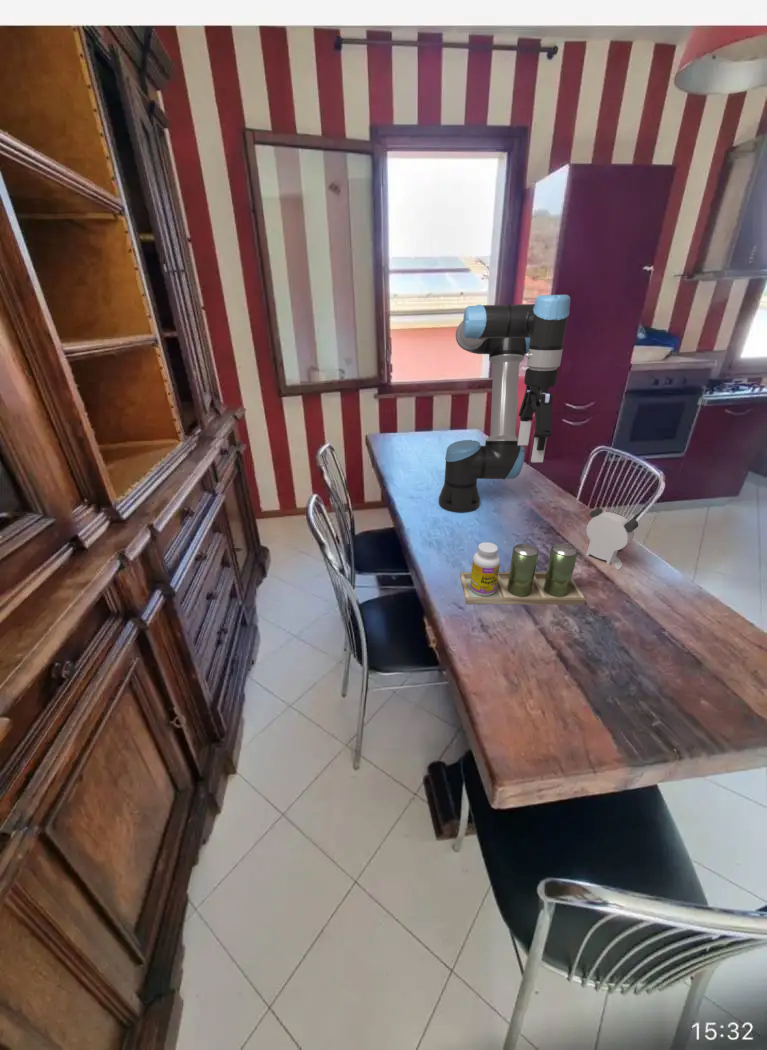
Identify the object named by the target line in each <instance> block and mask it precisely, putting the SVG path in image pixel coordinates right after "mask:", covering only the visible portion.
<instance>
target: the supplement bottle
mask: <svg viewBox="0 0 767 1050" xmlns="http://www.w3.org/2000/svg"><path fill="white" fill-rule="evenodd" d="M498 551H499V547H498V546H497V545H496V544H494V543H493V542H481V543H479V544H478V547H477V552H475V554H473V557H472V563H471V564H472V565H471V572H472V573H471V582H470V588H471V590H472V591H473V592H474V593H476V594H478V595H481V596H489V595H492V594H493V593H494V592H495V591H496V586H497V579H498V573H499V571H500V566H501V559H500V556H499V555H498Z"/></svg>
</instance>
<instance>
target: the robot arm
mask: <svg viewBox="0 0 767 1050" xmlns="http://www.w3.org/2000/svg"><path fill="white" fill-rule="evenodd" d="M570 307H571V296H569V295H568V294H543V295H542V294H540V295H538V296H537V297H536V298H535V301H534V303H531V304H529V303H528V304H525V303H524V304H518V303H517V304H475V305H468V306H467V307H465V309H464V313H463V320H462V321H461V322H460V323H459V325H458V326H457V328H456V331H455V340H456V343H457V345H458V346H459V348H461V349H462V350H464V351H466V352H468V353H471V354H476V355H488V361H489V362H490V364H492V386H491V387H492V388H491V389H492V390H491V405H490V407H491V411H490V414H491V415H490V430H489V434H490V435H489V437H487V438H486V439H485V444H484V445H482V444H481V443H480V442H479V441H478V440H475V439H474V440H472V439H464V440H458V441H455V442H452V443H451V444H449V445H448V446H447V448H446V452H445V458H444V459H445V467H444V468H445V469H444V484H443V487H441V488H442V489H441V490H440V493H439V496H438V505H439V507H441V508H442V509H444V510H447V511H448V512H453V513H469V512H473V511H477V509H479V507H480V503H481V502H480V501H481V497H480V494H479V491H478V486H477V483H478V480H480V479H481V480H504V481H505V480H511V479H512V480H513V479H516V478H518V476H519V475H520V474H521V471H522V469H523V466H524V462H525V455H526V454H525V447H524V446H529V442H530V441H529V440H530V435H531V428H532V421H533V420H534V418H533V415H534V417H535V430H536V432H535V434H534V435H533V438H534V439H533V445H532V452H531V453H532V454H531V457H530V462H531V463H543V462H544V457H545V451H546V446H547V439H548V438H550V437H552V435H553V434H552V427H553V424H552V421H553V420H552V419H553V418H552V417H553V413H552V412H553V399H554V394H553V393H549V388H551V387H554V386H557V382H558V377H559V372H560V371H559V369H558V368H559V367H560V366H561V363H562V357H563V356H562V355H563V349H564V348H563V347H564V342H565V336H566V332H567V331H566V330H567V326H568V325H567V324H568V320H569V315H570V314H571V311H570ZM525 358H527V359H526V360H527V362H526V366H527V368H526V369H525V374H524V380H523V383H524V385H525V393H524V395H523V399H522V403H521V406H520V410H519V412H518V397H519V396H518V394H519V393H518V392H519V378H520V377H519V376H520V364H521V362H523V360H524V359H525ZM517 413H518V417H520V418H519V420H520V422H519V423H520V424H519V429H518V430H519V431H518V437H517V435H516V433H517V431H516V430H517Z"/></svg>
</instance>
